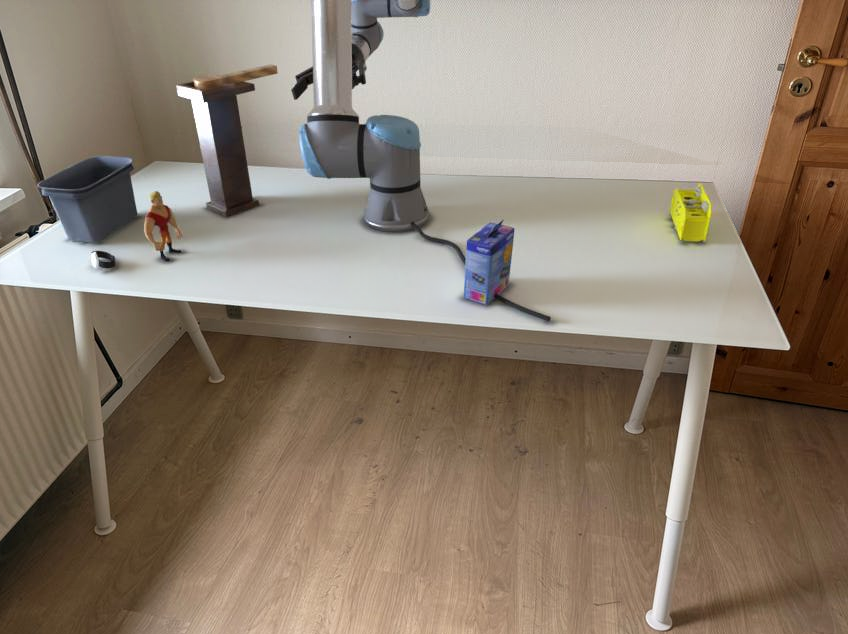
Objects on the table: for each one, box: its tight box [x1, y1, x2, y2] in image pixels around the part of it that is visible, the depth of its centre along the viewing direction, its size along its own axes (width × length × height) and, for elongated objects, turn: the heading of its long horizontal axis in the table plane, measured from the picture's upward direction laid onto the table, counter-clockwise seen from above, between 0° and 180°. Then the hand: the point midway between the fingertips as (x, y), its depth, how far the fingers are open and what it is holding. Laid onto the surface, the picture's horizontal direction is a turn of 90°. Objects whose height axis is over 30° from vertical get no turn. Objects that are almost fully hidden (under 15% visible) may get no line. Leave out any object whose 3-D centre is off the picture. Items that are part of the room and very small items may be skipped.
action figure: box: [143, 190, 184, 262], centre depth 146 cm, size 10×4×15 cm, turn 158°
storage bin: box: [37, 155, 139, 244], centre depth 161 cm, size 21×16×14 cm
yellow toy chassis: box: [669, 182, 713, 243], centre depth 148 cm, size 16×6×8 cm, turn 168°
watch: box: [90, 250, 116, 270], centre depth 147 cm, size 8×5×4 cm, turn 40°
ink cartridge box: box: [463, 219, 516, 306], centre depth 127 cm, size 10×6×14 cm, turn 146°
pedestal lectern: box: [175, 80, 260, 218], centre depth 165 cm, size 14×11×30 cm
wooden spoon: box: [192, 64, 278, 90], centre depth 160 cm, size 22×6×2 cm, turn 134°
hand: (316, 94), depth 172 cm, fingers open, 13 cm apart
